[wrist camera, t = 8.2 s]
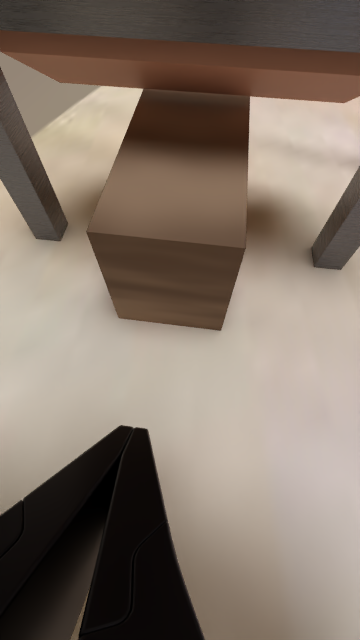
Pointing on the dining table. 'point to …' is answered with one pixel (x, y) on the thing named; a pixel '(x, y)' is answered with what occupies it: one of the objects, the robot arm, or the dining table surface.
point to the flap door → (188, 66)
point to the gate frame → (186, 26)
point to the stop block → (176, 209)
